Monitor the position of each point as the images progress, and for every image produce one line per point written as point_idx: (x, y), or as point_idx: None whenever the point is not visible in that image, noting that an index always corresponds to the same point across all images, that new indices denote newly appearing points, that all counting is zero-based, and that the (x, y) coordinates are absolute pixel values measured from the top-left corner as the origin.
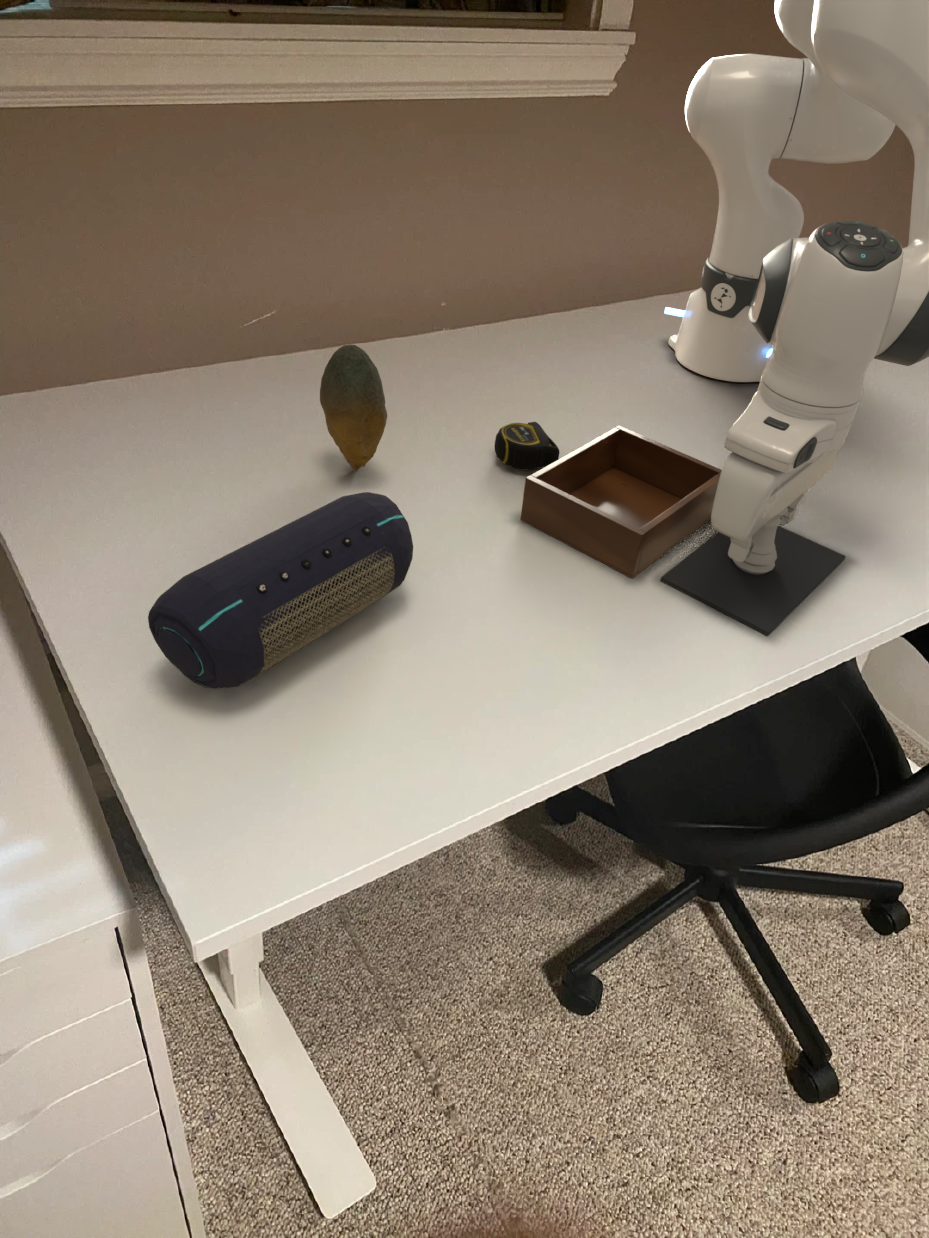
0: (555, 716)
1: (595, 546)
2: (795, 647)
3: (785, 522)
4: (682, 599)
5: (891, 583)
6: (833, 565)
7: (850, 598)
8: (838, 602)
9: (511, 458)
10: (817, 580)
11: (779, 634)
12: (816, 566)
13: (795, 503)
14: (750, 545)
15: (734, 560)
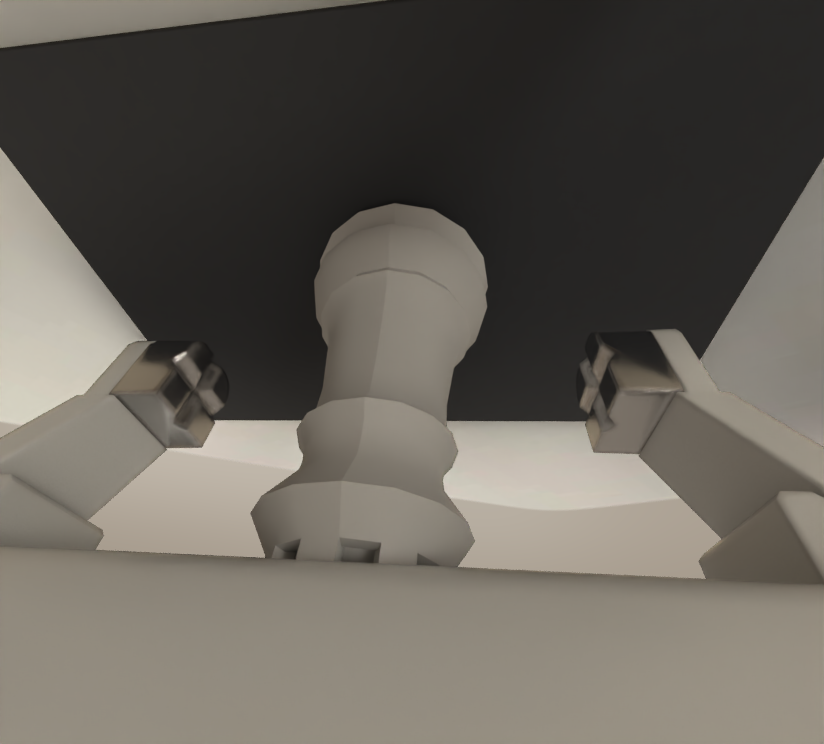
0: None
1: None
2: (248, 445)
3: (578, 395)
4: (34, 208)
5: (608, 480)
6: (587, 417)
7: (488, 455)
8: None
9: None
10: (483, 416)
11: (245, 420)
12: (549, 397)
13: (669, 475)
14: (153, 457)
15: (331, 245)
